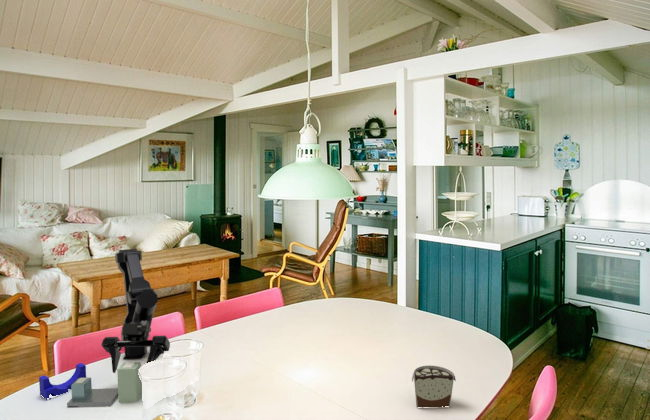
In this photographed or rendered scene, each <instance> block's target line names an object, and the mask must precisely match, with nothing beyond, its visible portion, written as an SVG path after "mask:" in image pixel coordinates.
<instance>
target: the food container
mask: <svg viewBox="0 0 650 420" xmlns="http://www.w3.org/2000/svg"><path fill="white" fill-rule="evenodd" d="M456 380H457V379H456V376H455V373H454V372H453V371H451V370H450V369H448V368H446V367H443V366H440V365H439V366H437V365H423V366H417V367H416V368H415V369H414V370H413V373H412V376H411V382H414V395H415V403H416V405H415V406H416V408H417V407H442V406H443V407H445V406H449V407H450V408H451V401H452V394H453V387H454V382H456Z"/></svg>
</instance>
